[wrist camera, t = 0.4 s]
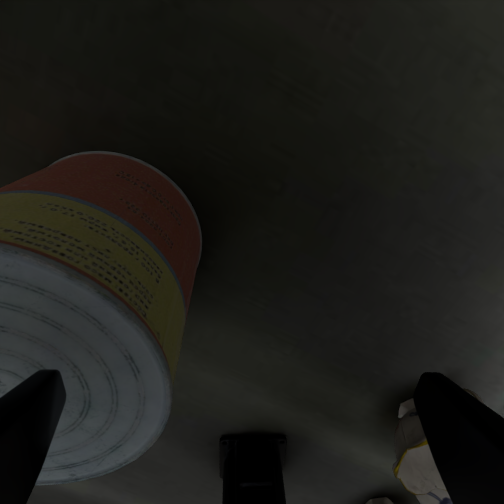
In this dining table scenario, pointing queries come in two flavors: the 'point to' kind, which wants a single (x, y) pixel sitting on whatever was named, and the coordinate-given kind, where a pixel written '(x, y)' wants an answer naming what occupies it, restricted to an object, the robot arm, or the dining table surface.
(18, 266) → the canned food
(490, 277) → the dining table surface
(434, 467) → the chinaware
